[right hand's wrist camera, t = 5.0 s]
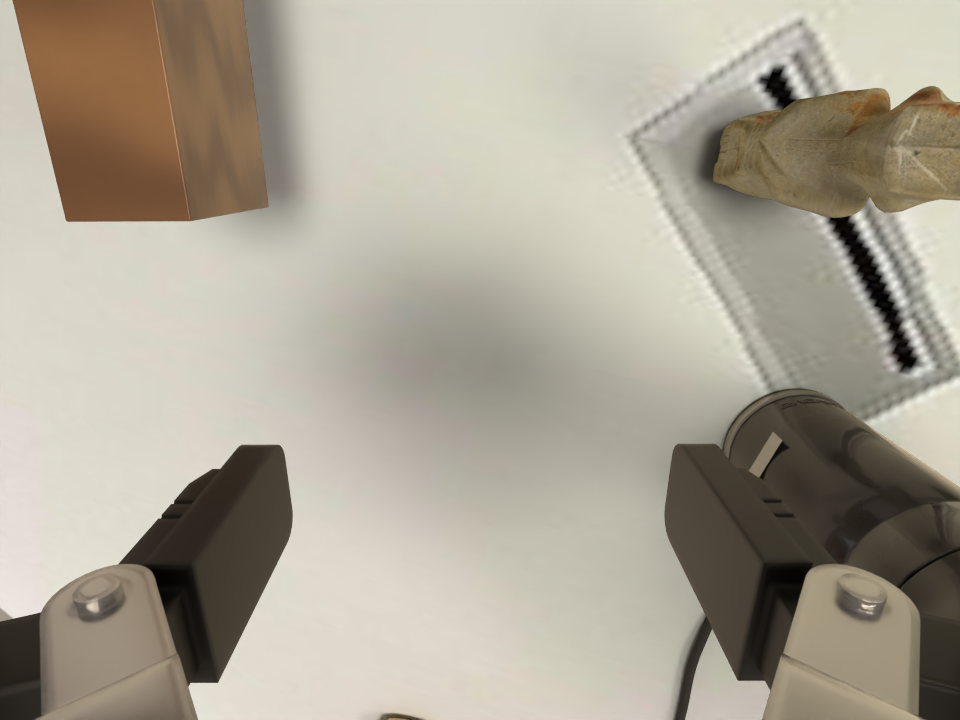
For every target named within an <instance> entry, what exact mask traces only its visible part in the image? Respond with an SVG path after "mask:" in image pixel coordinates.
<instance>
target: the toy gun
mask: <svg viewBox="0 0 960 720" xmlns="http://www.w3.org/2000/svg"><path fill="white" fill-rule="evenodd" d="M387 720H408V719H401V718H389V719H387Z"/></svg>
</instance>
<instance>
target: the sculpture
mask: <svg viewBox="0 0 960 720" xmlns="http://www.w3.org/2000/svg"><path fill="white" fill-rule="evenodd" d="M720 146H721V149H720V153H719V158H718V162H717V163H716V164H715V166H714V174H713V181H714V182H715V183H718V184H722V185H726V186H728V187H730V188H732V189H734V190H736V191H739V192H741V193H744V194H748V195H751V196H755V197H759V198H764V199H773V200H775V201H777V202H779V203H781V204H784V205H788V206H791V207H794V208H798V209H802V210H806V211H810V212H813V213H816V214H818V215H822V216H826V217H845V216H850V215H853V214H855V213H857V212H859V211H860V210H861V209H862V208H863V207H864V205H865V204H866V202H867V200H868V199H869V197H870V198H871V199H872V201H873V202H874V204H875V206H876V207H877V208H878V209H879V210H881V211H883V212H890V213H891V212H900V211H904V210H906V209H909V208H911V207H914V206H916V205H919V204H922V203H925V202H929V201H934V200H939V199H944V200H960V102H953V101H951V100H950V99H949V98H947V97H946V96H945V94H944V93H943V92H942V91H941V90H940V89H939V88H938V87H935V86H929V87H926V88H923V89H921V90H919V91H918V92H916V93H915V94H913V95H912V96H911V97H909V98H908V99H907V100H905V101H904V102H903V103H901V104H900V105H899V106H897V107H895V108H894V109H892V110H891V111H890V97H889V94H888V93H887V91H886V90H885V89H882V88H873V89H865V90H857V91H844V92H840V93H836V94H830V95H825V96H819V97H812V98H805V99H799V100H796V101H794V102H793V103H791V104H790V105H789V106H787V107H786V108H784V109H783V110H774V111H765V112H761V113H757V114H752V115H749V116H746V117H743V118H740V119H737V120H735V121H733V122H731V123H730V124H729V125H727V126H726V127H725V129H724V131H723V134H722V137H721V140H720Z"/></svg>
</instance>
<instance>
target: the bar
mask: <svg viewBox="0 0 960 720" xmlns="http://www.w3.org/2000/svg"><path fill="white" fill-rule="evenodd" d="M13 4H14V8H15V12H16V16H17V20H18V24H19V29H20V33H21V37H22V41H23V45H24V49H25V53H26V57H27V61H28V66H29V70H30V74H31V78H32V82H33V86H34V90H35V94H36V99H37V103H38V107H39V111H40V115H41V119H42V123H43V127H44V131H45V136H46V140H47V144H48V148H49V152H50V156H51V160H52V164H53V168H54V173H55V177H56V181H57V185H58V189H59V193H60V197H61V201H62V205H63V210H64V214H65V218H66V221H68V222H98V221H194V220H200V219H205V218H211V217H216V216H222V215H227V214H233V213H238V212H244V211H249V210H255V209H260V208H266V207H268V199H267V191H266V183H265V175H264V167H263V159H262V151H261V143H260V135H259V127H258V119H257V111H256V103H255V95H254V87H253V80H252V72H251V64H250V56H249V48H248V40H247V32H246V24H245V16H244V8H243V0H13Z"/></svg>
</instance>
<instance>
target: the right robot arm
mask: <svg viewBox="0 0 960 720" xmlns="http://www.w3.org/2000/svg"><path fill="white" fill-rule="evenodd" d="M292 517H293V514H292V504H291V497H290V490H289V482H288V475H287V468H286V461H285V455H284V451H283V449H282V447H281V446H280V445H241V446H239V447H238V448H237V449H236V451H235V452H234V453H233V454H232V456H231V457H230V458H229V459H228V460H227V462H226V463H225V464H224V465H223V466H222V468H221V469H212V470H210V471H209V472H207V473H206V474H204V475H202V476H201V477H199V478H198V479H196V480H194V481H193V482H191V483H190V484H189V485H188V486H187V487H186V488H185V489H184V490H183V491H182V493H181V494H180V495H179V496H178V497H177V498H176V499H175V501H174V504H171V505H170V506H169V507H168V508H167V510H166V511H165V512H164V513H163V514H162V518H161V519H158V520H157V521H156V522H155V523H154V524H153V525H152V527H151V528H150V529H149V530H148V531H147V532H146V533H145V535H144V536H143V537H142V538H141V539H140V540H139V541H138V543H137V544H136V545H135V546H134V547H133V548H132V549H131V550H130V552H129V553H128V554H127V555H126V556H125V557H124V558H123V560H122V561H121V562H120V563H119V564H118V565H113V566H108V567H104V568H101V569H98V570H95V571H92V572H90V573H87V574H85V575H83V576H81V577H79V578H77V579H75V580H74V581H72V582H70V583H69V584H67V585H66V586H64V587H63V588H62V589H60V590H59V591H58V592H57V593H56V594H54V595H53V596H52V597H51V599H50V600H49V601H48V602H47V603H46V605H45V606H44V608H43V610H42V612H41V613H37V614H33V615H28V616H24V617H19V618H15V619H10V620H6V621H1V622H0V720H198V718H197V715H196V712H195V708H194V705H193V701H192V698H191V695H190V691H189V688H188V686H189V684H190V683H218V682H219V679H220V677H221V675H222V673H223V671H224V669H225V667H226V665H227V663H228V661H229V659H230V657H231V655H232V653H233V651H234V649H235V647H236V645H237V643H238V641H239V639H240V637H241V635H242V633H243V631H244V629H245V627H246V625H247V623H248V621H249V619H250V617H251V615H252V613H253V611H254V609H255V607H256V605H257V603H258V601H259V599H260V597H261V595H262V593H263V591H264V589H265V587H266V585H267V583H268V581H269V579H270V577H271V575H272V573H273V571H274V568H275V566H276V564H277V562H278V560H279V558H280V556H281V554H282V552H283V550H284V548H285V546H286V544H287V542H288V540H289V537H290V533H291V528H292ZM665 526H666V531H667V535H668V538H669V541H670V543H671V545H672V547H673V549H674V551H675V553H676V555H677V557H678V559H679V561H680V563H681V565H682V567H683V569H684V572H685V574H686V576H687V578H688V580H689V582H690V584H691V586H692V588H693V590H694V592H695V594H696V596H697V598H698V600H699V602H700V604H701V606H702V608H703V610H704V612H705V614H706V616H707V618H706V620H705V622H704V625H703V627H702V629H701V631H700V634H699V636H698V638H697V641H696V643H695V646H694V648H693V651H692V653H691V656H690V659H689V662H688V665H687V669H686V673H685V678H684V683H683V688H682V694H681V699H680V704H679V709H678V713H677V718H676V720H685V717H686V713H687V709H688V704H689V699H690V693H691V688H692V683H693V678H694V674H695V671H696V667H697V664H698V661H699V658H700V656H701V653H702V651H703V648H704V646H705V644H706V641H707V639H708V637H709V634H710V632H711V630H712V629H713V631H714V633H715V635H716V637H717V639H718V641H719V643H720V645H721V647H722V649H723V651H724V653H725V655H726V657H727V659H728V661H729V663H730V666H731V668H732V670H733V672H734V674H735V676H736V678H737V680H738V681H766V683H767V685H768V687H769V689H770V695H769V698H768V701H767V705H766V708H765V712H764V715H763V718H762V720H960V487H959V486H957V485H956V484H954V483H953V482H951V481H950V480H948V479H947V478H945V477H944V476H942V475H941V474H939V473H938V472H936V471H935V470H933V469H932V468H930V467H929V466H927V465H926V464H924V463H923V462H921V461H920V460H918V459H917V458H916V457H914V456H913V455H911V454H910V453H908V452H907V451H905V450H904V449H902V448H901V447H899V446H898V445H896V444H895V443H893V442H892V441H890V440H889V439H887V438H886V437H884V436H883V435H881V434H880V433H878V432H877V431H875V430H874V429H872V428H871V427H869V426H868V425H867V424H865V423H864V422H862V421H861V420H859V419H858V418H856V417H855V416H853V415H852V414H850V413H849V412H847V411H846V410H845V409H844V408H843V407H842V406H841V405H839V404H838V403H837V402H835V401H834V400H832V399H831V398H829V397H827V396H825V395H823V394H821V393H818V392H814V391H810V390H786V391H781V392H777V393H774V394H771V395H769V396H766V397H764V398H762V399H760V400H759V401H757V402H755V403H754V404H752V405H751V406H750V407H748V408H747V409H746V410H745V411H744V412H743V413H742V414H741V415H740V416H739V417H738V418H737V420H736V421H735V422H734V424H733V425H732V427H731V429H730V431H729V433H728V435H727V438H726V441H725V445H724V452H723V451H722V450H721V449H720V448H719V447H718V446H717V445H716V444H677V445H676V446H675V448H674V450H673V454H672V461H671V468H670V475H669V482H668V490H667V497H666V504H665Z"/></svg>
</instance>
